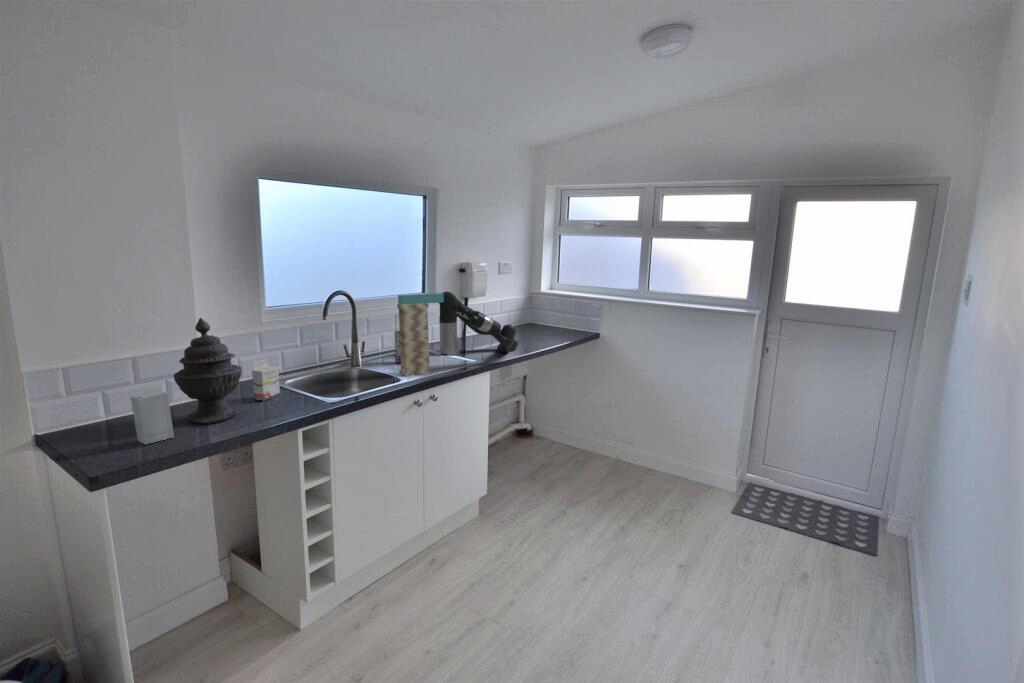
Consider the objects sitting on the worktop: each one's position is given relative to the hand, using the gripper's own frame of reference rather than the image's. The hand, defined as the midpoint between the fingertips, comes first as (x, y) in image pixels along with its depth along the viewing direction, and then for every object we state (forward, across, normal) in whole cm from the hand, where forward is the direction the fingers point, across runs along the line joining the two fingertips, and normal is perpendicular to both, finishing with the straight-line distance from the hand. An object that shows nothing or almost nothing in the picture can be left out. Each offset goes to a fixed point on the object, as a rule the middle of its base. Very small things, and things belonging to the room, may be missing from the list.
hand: (453, 307), depth 249 cm
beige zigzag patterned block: (+3, 0, -35) cm, 35 cm away
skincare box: (+88, -41, -82) cm, 127 cm away
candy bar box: (-1, +24, -33) cm, 41 cm away
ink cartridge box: (+58, -9, -66) cm, 88 cm away
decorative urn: (+74, -24, -74) cm, 108 cm away
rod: (+15, +1, -5) cm, 16 cm away
